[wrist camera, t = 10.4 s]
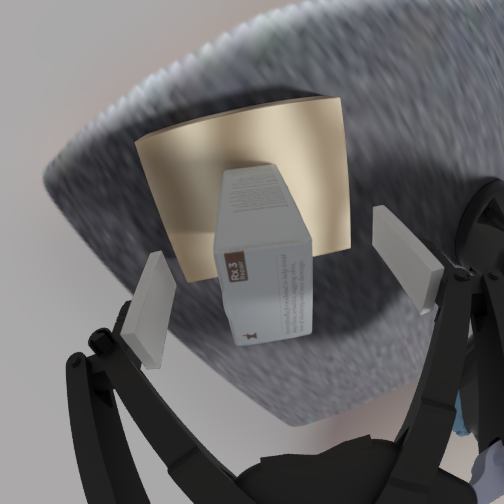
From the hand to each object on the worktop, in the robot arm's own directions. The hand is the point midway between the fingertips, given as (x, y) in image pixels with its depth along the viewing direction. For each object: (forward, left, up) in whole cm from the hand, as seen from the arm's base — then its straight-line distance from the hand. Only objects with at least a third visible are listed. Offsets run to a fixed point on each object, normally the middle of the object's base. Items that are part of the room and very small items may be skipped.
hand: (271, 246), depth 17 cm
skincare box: (+1, 0, -7) cm, 7 cm away
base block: (0, 0, -11) cm, 11 cm away
